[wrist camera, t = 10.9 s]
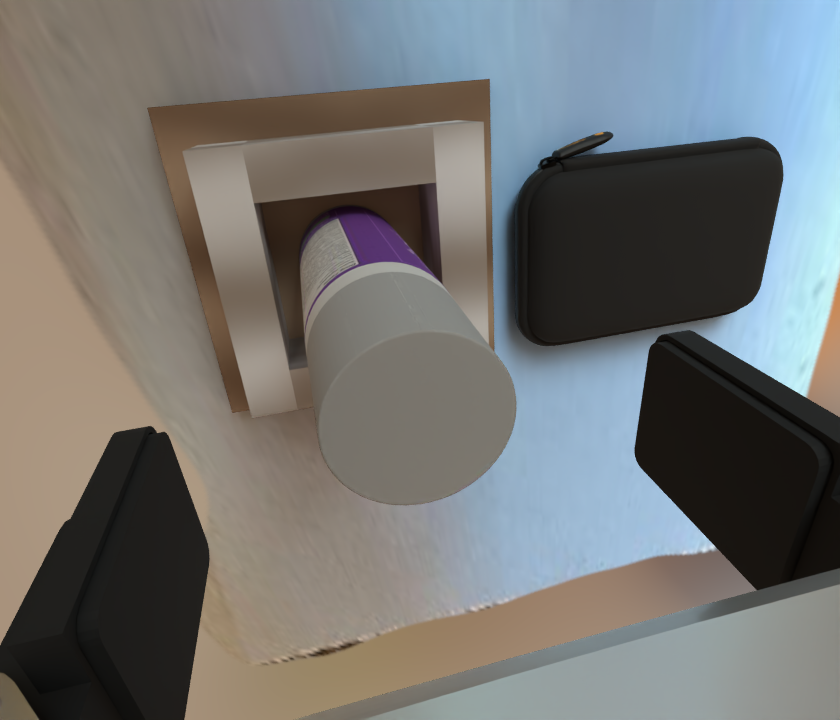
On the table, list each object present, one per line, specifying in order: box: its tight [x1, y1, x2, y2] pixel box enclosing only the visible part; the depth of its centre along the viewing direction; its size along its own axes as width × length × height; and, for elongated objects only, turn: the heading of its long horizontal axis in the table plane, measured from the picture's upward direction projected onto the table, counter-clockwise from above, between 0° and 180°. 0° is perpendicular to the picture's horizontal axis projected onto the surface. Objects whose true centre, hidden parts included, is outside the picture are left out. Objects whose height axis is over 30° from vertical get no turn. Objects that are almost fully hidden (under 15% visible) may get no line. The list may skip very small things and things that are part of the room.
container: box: [299, 205, 516, 505], centre depth 18 cm, size 5×5×15 cm
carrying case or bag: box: [515, 132, 783, 346], centre depth 28 cm, size 11×3×15 cm
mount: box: [147, 79, 494, 418], centre depth 24 cm, size 14×14×5 cm
